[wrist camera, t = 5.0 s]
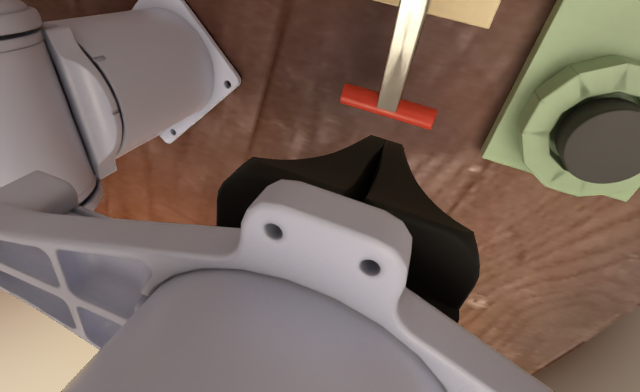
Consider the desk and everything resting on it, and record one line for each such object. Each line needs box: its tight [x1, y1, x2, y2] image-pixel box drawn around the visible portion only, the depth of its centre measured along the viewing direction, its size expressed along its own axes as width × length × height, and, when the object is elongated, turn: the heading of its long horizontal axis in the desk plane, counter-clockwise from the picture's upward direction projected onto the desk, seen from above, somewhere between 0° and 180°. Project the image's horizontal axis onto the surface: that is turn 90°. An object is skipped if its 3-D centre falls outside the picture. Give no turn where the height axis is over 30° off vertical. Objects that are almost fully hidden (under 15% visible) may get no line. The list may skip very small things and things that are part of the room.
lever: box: [340, 0, 438, 130], centre depth 14 cm, size 12×5×2 cm, turn 168°
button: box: [555, 97, 640, 184], centre depth 16 cm, size 4×4×2 cm
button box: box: [481, 0, 640, 202], centre depth 17 cm, size 10×8×3 cm
